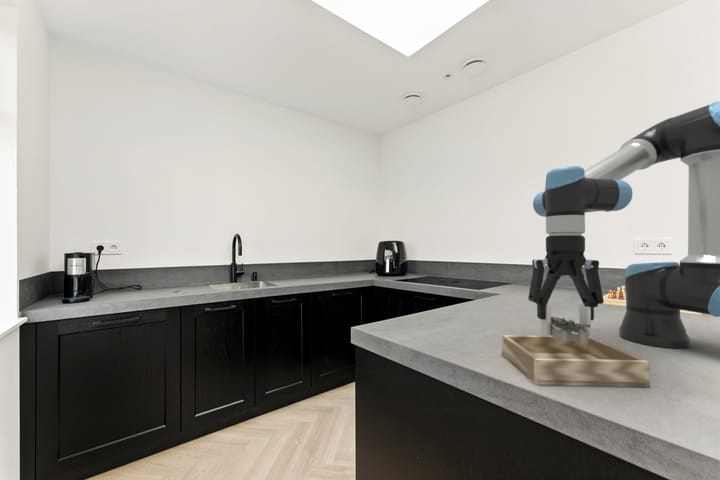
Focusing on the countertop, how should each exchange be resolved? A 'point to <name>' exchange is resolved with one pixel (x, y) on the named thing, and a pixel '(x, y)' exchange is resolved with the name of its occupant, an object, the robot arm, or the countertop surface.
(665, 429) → the countertop surface
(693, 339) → the countertop surface
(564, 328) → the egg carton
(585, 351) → the tray
